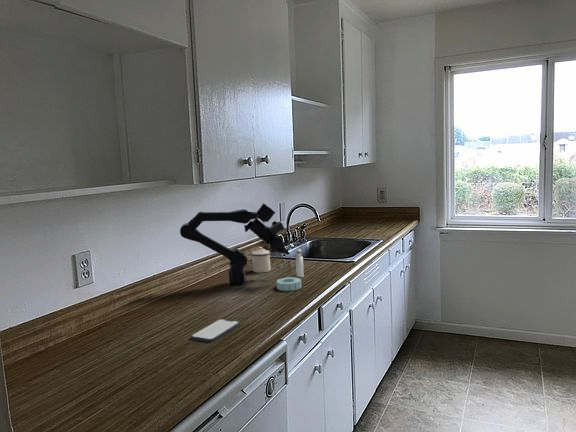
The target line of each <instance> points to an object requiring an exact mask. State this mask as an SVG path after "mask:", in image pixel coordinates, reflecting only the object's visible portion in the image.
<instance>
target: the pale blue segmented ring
mask: <svg viewBox="0 0 576 432" xmlns="http://www.w3.org/2000/svg"><path fill="white" fill-rule="evenodd" d="M301 288H302V279H301V278H300V277H293V276H292V277H291V276H290V277H282V278H279V279H277V280H276V290H279V291H282V292H291V291H296V290H300V289H301Z"/></svg>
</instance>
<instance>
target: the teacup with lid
mask: <svg viewBox="0 0 576 432" xmlns="http://www.w3.org/2000/svg"><path fill="white" fill-rule="evenodd" d="M270 256H271V251H270V250H266V249H265V248H263V247H262V246H259V247H258V248H257V249H256V250H255V251H252V252H251V254H250V255H249V256H246V258H247V265H248V266H250V267H252V271H253V273H258V274H261V273H262V274H263V273H268V272H270V271H271V257H270ZM250 258H252V260H251V262H252V263H250V261H249V259H250Z"/></svg>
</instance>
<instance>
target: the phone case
mask: <svg viewBox="0 0 576 432" xmlns="http://www.w3.org/2000/svg"><path fill="white" fill-rule="evenodd" d="M240 325H241V323H240V321H238V320H230V319H223V318H221V319H217V320H216V321H215V322H213V323H211V324H209V325H207V326H205V327H204V328H202V329H200V330H199V331H197V332H195V333H193V334H191V336H190V339H191V340H193V341H198V342H205V343H213V342H216V341H217V340H219V339H220V338H222V337H224V336H225V335H227V334H230V333H231V332H232V331H234V330H236V329H237V328H239V327H240Z"/></svg>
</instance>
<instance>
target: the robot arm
mask: <svg viewBox="0 0 576 432" xmlns="http://www.w3.org/2000/svg"><path fill="white" fill-rule="evenodd" d="M275 214H276V211H274V210H273V209H272V208H271V207H269V206H268V205H267V204H265V203H262V204H261V205H260V207H259V209H257V210H256V211H249V210H247V209H237V210H233V211H214V212H213V211H210V212H209V211H206V212H205V211H199V212H197V213H196V214H195V216H194V217H193V218H191V220H189V221H188V222H186V223H183V224H182V225H181V227H180V230H179V233H180V237H182V238H184V239H187V240H190V241H193V242H196V243H199V244H201V245H203V246H204V247H207V248H208V249H210V250H212V251H214V252H216V253H217V254H220V255H221V256H223V257H225V258H226V259H228V260H229V261H230V262H229V263H228V266H229V270H228V281H229V283H228V284H227V285H229V286H242V285H244V284H245V283H246V282H247V277H246V275H247V274H246V271H245V268H244V267H245V266H246V265H248V263H247V256H246V254H245V252H244V251H243V250H240V249H239V248H237V247H234V249H231V248H229V247H228V246H226V245H223V244H222V243H220V242H218V241H217V240H214V239H212V238H211V237H209V236H207V235H205V234H204V233H202V232H201V231H200V230H198V227H199V226H200V225H201V224H202V223H203V222H233V223H238V224H244V225H243V227H244V232H245V233H247V232H248V231H250V232H252V233H253V234H254V235H256V236H257V237H258V238H259V239H260V240H261V241H263V242H264V243H265V244H266V245H268V247H269V249H271V250H272V251H273V252H277V253H281V254H284V255H286V256H289V255H290V252H289V251H288V249H287V248H286V247H285V245H284V239H282V238H281V237H280V236H279V235H278V234H277V233H279V232H281V231H283V230H285V225H284V224H283V223H282V222H281V221H276V220H274V221H272V222H271V226H270V227H269V226H267V225H265V223H266V222H267V223H269V222H270V220H271V219H272V218H273V216H274V215H275Z"/></svg>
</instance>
